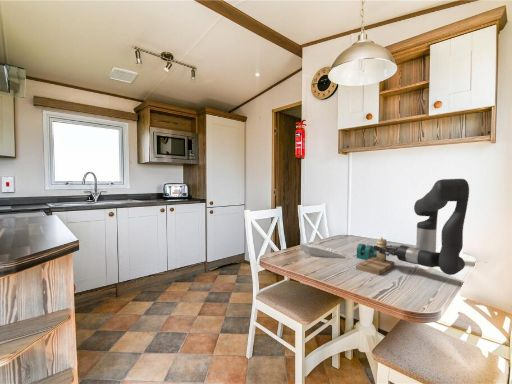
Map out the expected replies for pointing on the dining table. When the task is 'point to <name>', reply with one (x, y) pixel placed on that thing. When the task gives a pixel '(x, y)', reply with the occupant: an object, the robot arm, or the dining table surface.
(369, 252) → the bracket
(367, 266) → the board
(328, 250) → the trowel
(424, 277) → the dining table surface
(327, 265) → the dining table surface
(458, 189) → the robot arm
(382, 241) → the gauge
